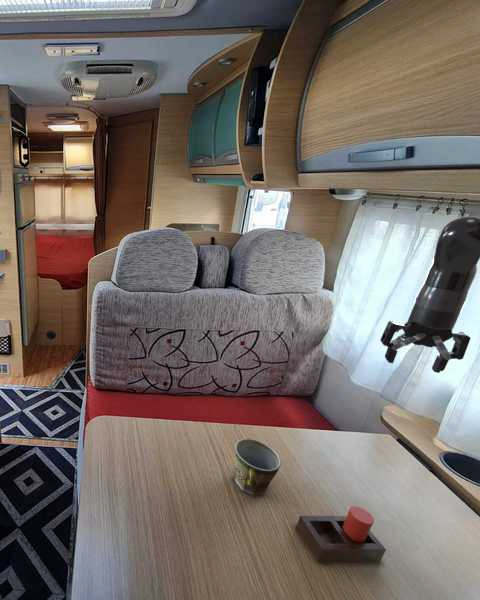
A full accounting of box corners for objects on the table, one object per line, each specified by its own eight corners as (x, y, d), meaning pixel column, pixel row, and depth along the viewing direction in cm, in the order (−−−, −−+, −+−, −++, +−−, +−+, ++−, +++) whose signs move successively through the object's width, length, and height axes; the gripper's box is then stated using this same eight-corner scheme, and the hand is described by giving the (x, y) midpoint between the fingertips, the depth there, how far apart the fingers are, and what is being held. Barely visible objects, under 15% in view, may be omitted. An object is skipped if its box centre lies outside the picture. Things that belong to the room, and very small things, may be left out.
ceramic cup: (232, 462, 90) (239, 432, 86) (273, 480, 84) (282, 449, 81) (221, 497, 79) (229, 466, 76) (268, 520, 74) (278, 487, 71)
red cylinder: (357, 541, 70) (371, 511, 67) (361, 558, 67) (376, 527, 64) (336, 532, 72) (348, 503, 69) (339, 548, 69) (352, 518, 66)
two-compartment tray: (352, 528, 73) (357, 515, 71) (379, 562, 66) (386, 549, 65) (295, 528, 73) (300, 515, 71) (317, 563, 66) (322, 549, 65)
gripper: (402, 304, 75) (379, 365, 81) (491, 316, 69) (459, 382, 74) (392, 295, 81) (371, 352, 87) (472, 305, 75) (444, 367, 81)
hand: (411, 366), depth 81 cm, fingers open, 8 cm apart
